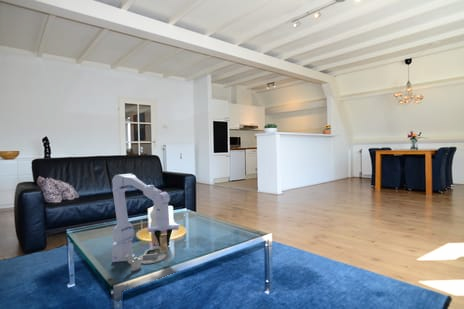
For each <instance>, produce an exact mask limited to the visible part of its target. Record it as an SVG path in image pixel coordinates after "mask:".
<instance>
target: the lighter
mask: <svg viewBox="0 0 464 309" xmlns="http://www.w3.org/2000/svg"><path fill="white" fill-rule="evenodd" d="M138 257H139V256H138ZM138 257H137V256H134V257H133V259H131V257H130V256H129V255H128V254H127V255H126V256H125V258H126V260H127V261H126V262H127V263H128V264H129V265H130V266H131V267H130V268H131V270H130V271H132V272H134V271H138V270H140V269H141V268H142V266H141V265H142V264H141V260H140V258H138Z"/></svg>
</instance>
